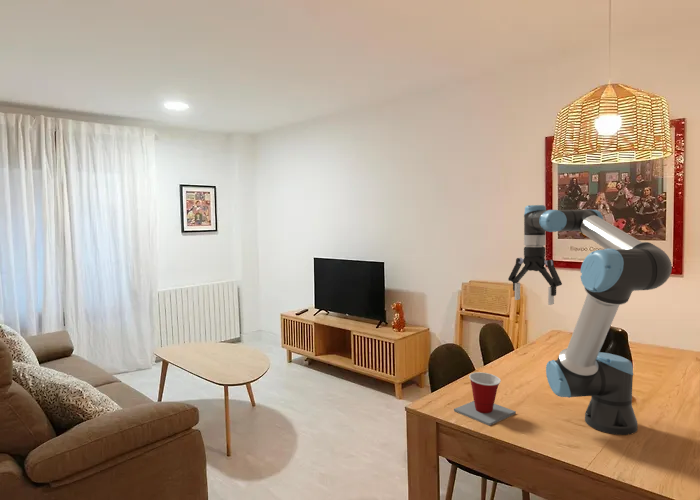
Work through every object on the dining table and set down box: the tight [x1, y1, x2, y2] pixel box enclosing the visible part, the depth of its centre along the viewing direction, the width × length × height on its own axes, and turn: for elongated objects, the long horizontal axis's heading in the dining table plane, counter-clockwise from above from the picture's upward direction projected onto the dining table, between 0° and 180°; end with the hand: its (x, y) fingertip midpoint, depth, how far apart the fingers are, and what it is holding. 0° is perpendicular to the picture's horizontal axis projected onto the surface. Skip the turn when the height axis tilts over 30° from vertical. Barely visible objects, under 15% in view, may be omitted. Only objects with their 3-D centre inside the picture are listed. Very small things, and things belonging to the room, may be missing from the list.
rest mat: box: [453, 400, 517, 426], centre depth 164 cm, size 15×15×1 cm
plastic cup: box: [468, 371, 502, 413], centre depth 163 cm, size 11×11×12 cm
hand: (533, 301), depth 176 cm, fingers open, 13 cm apart
